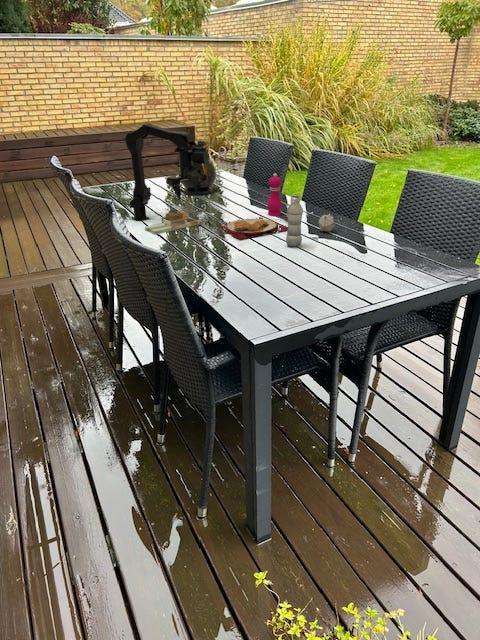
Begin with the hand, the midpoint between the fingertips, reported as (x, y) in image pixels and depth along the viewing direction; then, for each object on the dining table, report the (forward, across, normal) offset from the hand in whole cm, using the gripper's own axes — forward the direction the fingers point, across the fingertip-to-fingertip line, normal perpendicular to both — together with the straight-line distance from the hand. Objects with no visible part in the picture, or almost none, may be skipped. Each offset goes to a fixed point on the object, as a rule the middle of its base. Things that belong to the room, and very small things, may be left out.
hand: (188, 197), depth 224 cm
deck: (+12, -9, 0) cm, 15 cm away
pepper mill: (+12, +41, -14) cm, 45 cm away
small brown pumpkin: (+12, +40, -50) cm, 65 cm away
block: (+10, -9, 0) cm, 13 cm away
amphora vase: (+12, +38, +51) cm, 65 cm away
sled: (+10, -8, 0) cm, 13 cm away
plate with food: (+13, +17, -25) cm, 33 cm away
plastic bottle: (+12, +16, -55) cm, 58 cm away
